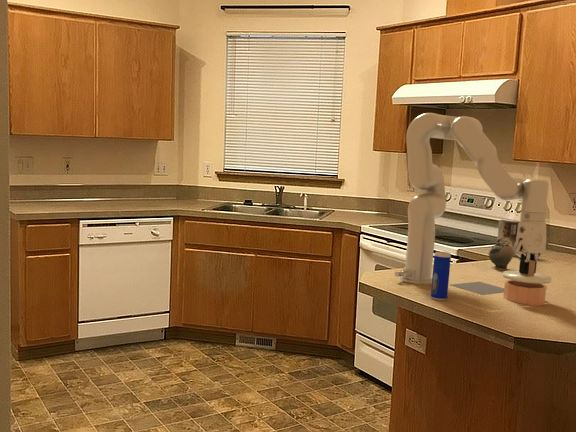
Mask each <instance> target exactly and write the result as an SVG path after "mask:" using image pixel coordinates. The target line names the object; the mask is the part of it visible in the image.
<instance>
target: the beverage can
mask: <svg viewBox="0 0 576 432" xmlns="http://www.w3.org/2000/svg"><path fill="white" fill-rule="evenodd" d="M451 259H452V256H451V252H448V251H435V252H434V254H433V264H432V275H431V277H432V284H431V288H430V289H431V291H430V298H431V299H433V300H436V301H446V300H447V299H448V292H449V281H450V269H451Z"/></svg>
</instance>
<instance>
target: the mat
mask: <svg viewBox="0 0 576 432" xmlns="http://www.w3.org/2000/svg"><path fill="white" fill-rule="evenodd" d="M450 286H451V287H455V288H458V289H462V290H465V291H468V292H472V293H474V294H477V295H482V296H485V295H492V294H493V295H494V294H495V295H496V294H501V293H502V294H504V287H500V286H498V285H494V284H489V283H486V282H482V281H471V282H463V283H454V284H453V283H452V284H450Z"/></svg>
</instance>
